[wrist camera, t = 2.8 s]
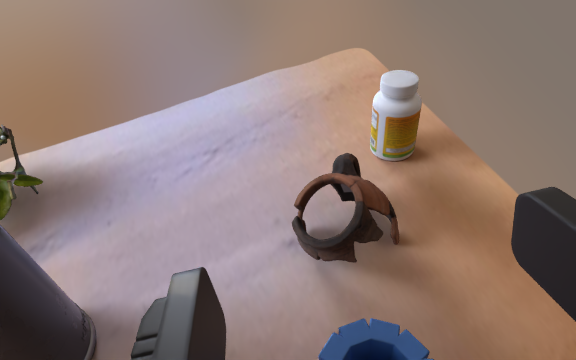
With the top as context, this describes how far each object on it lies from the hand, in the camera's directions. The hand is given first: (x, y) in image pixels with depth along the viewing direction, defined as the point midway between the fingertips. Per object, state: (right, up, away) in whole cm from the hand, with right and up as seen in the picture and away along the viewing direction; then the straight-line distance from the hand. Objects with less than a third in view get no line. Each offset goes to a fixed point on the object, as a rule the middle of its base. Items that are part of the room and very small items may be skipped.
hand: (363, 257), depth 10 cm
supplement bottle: (+11, +6, +38) cm, 40 cm away
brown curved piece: (+4, -3, +29) cm, 29 cm away
